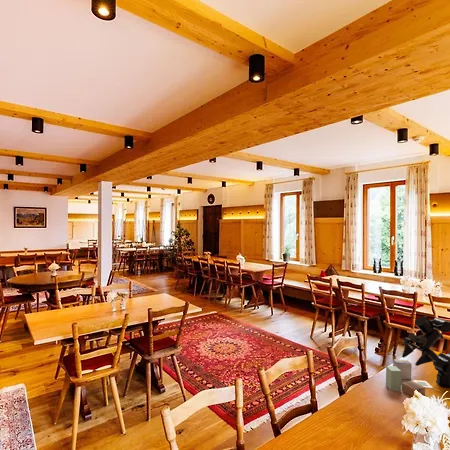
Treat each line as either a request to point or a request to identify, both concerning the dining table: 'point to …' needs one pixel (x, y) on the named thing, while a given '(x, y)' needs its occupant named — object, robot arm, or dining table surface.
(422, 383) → the card
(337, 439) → the dining table surface
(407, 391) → the walnut base block
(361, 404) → the dining table surface
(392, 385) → the sage block
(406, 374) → the medicine box
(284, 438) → the dining table surface
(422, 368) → the dining table surface
